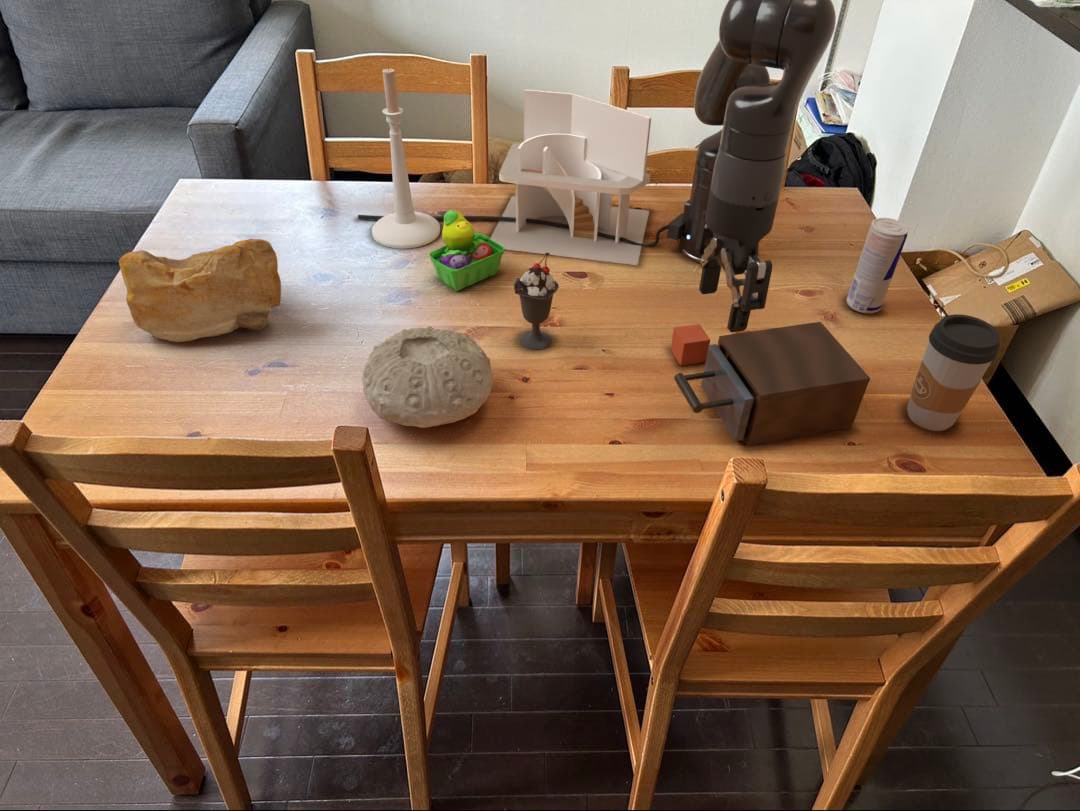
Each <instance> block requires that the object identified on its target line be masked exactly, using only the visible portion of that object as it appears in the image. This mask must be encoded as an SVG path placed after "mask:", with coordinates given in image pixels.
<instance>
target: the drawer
mask: <svg viewBox="0 0 1080 811" xmlns="http://www.w3.org/2000/svg"><path fill="white" fill-rule="evenodd" d="M673 379H674V381H675V383H676V386H678V388H679V390H680V392H681V393H682V395H683V397H684V398H685V400H686V402H687V404H688V405H689V407H690V408H691V410H692V412H693V413H694V414H700V413H702V411H703V410H706V409H713V408H714V410H715V411H716V413H717V414H718V416H719V418H720V420H721V421H722V422H723V424H724V426H725V427H726V429H727V430H728V432H729V434H730V435H731V437H732V438H733V440H734V441H735V442H738V441H743V439H744V435H745V431H746V427H747V429H748V430H749V427H750V423H751V419H752V415H753V411H754V408H755V404H756V400H757V397H758V396H757V395H756V394H755V392H754V391H753V389H752V388H751V386H750V385H749V383H748V382H747V381H746V379H745V378H744V376H743V375H742V373H741V372H740V371H739V369H738V368H737V366H736V365H735V363H734V362H733V360H732V359H731V358H730V356H729V355H728V353H727V352H726V355H725V356H724V354H723V353H722V352H721V350H720V349H719V347H718V343H717V344H709V347H708V352H707V357H706V362H704V368H703V371H702V372H697V373H691V374H684V373H682V372H678V373H676V374H675V375H674V377H673ZM695 380H701V384H700V387H701V388H702V390H703V392H704V393H705V395H706V396H707V397H706V398H708V400H709V401H708V402H707V401H706V402H701V400H700V399H699V398H698V395H697V394H696V392H695V391H694V389H693V388H692V386H691V384H690V383H689V381H695Z"/></svg>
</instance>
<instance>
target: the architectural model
mask: <svg viewBox="0 0 1080 811" xmlns="http://www.w3.org/2000/svg"><path fill="white" fill-rule="evenodd" d="M651 125H652V117H651V116H647V115H644V114H641V113H637V112H635V111H631V110H628V109H625V108H622V107H618V106H615V105H611V104H609V103H605V102H602V101H599V100H595V99H592V98H589V97H586V96H583V95H579V94H576V93H573V92H572V93H571V92H558V91H548V90H537V89H536V90H535V89H524V90H523V141H522V142H515V143H513V144H512V145H511V146H510V148H509V150H508V152H507V154H506V157H505V159H504V161H503V163H502V165H501V168H500V170H499V173H498V176H499V178H498V179H499V181H501V182H502V183H509V184H514V185H515V195H512V196H511V197H510V199H509V201H508V203H507V205H506V207H505V209H504V211H503V213H502V215H501V217H515V218H516V221H503V220H498V223H497V224H496V226H495V229H494V230H493V232H492V234H491V236H490V237H489V238H490V239H492V240H493V241H495V242H496V243H498V244H500V245H501V246H503V247H504V248H505V250H506V251H516V252H523V253H531V254H541V255H545V253H550V254H549V255H548V256H558V257H564V258H574V259H581V260H582V259H583V260H590V261H591V260H592V261H599V262H606V263H615V264H624V265H631V266H638V264H639V259H640V255H641V250H642V246H638V245H632V244H628V243H625V242H622V241H619V238H620V237H623V238H626V239H628V240H631V241H634V242H636V243H640V244H643V242H644V237H645V232H646V228H647V224H648V218H649V215H650V210H646V209H637V208H630V202H631V195H632V194H634V193H635V192H638V191H639V190H640V189H643V188H644V187H646V186H647V185H649V184H650V183H651V182H650V181H651V174H650V173H648V172H647V161H648V153H649V152H648V151H649V142H650V133H651ZM613 195H617V196H618V195H619V196H618V203H617V206H612V204H613V203H612V202H613ZM526 219H536V220H543V221H550V222H556V223H562V224H567V225H569V228H570V229H567V228H562V227H557V226H551V225H544V224H537V223H528V222H525V221H526ZM597 231H598V232H601V233H605V234H609V235H614V236H616V238H615V240H614V239H609V238H605V237H601V236H597Z"/></svg>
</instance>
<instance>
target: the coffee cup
mask: <svg viewBox="0 0 1080 811" xmlns="http://www.w3.org/2000/svg"><path fill="white" fill-rule="evenodd" d="M1000 339H1001V336H1000V332H998V330H997V329H996V328H995V327H994V326H993V324H990V323H989V322H987V321H985V320H983V319H981V318H979V317H975V316H972V315H968V314H967V315H966V314H949V315H946V316H944V317H942V318H940V320H939V322H937V323H936V324H934V326H933V327H932V330H931V331H930V333H929V334H928V343H927V346H926V347H925V348H926V349H925V352H924V354H923V358H922V360H921V362H920V365H919V368H918V370H917V374H916V377H915V380H914V383H913V386H912V388H911V389H912V390H911V393H910V397H909V400H908V402H907V405H906V412H907V415H908V418H909V420H911V422H913V423H914V424H915V425H916V426H918V427H920V428H921V429H924V430H926V431H927V430H928V431H933V432H942V431H945V430H948V429H949V428H951V427H952V426H954V424H955V423H956V421H957V420H958V418H959V416H960V415H961V413H962V412H963V410H964V409H965V408H966V407H967V405H968V403H969V401H970V399H971V398H972V397H973V395H974V392H975V391H976V390H977V388H978V386H979V385H980V383H981V381H982V379H983V377H984V375H985V374H986V372H987V371H988V368H989V367H990V365H991V363H992V362H993V361H994V360H995V359H997V357H998V352H999V350H1000V347H1001V344H1000Z"/></svg>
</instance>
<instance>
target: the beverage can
mask: <svg viewBox="0 0 1080 811" xmlns="http://www.w3.org/2000/svg"><path fill="white" fill-rule="evenodd" d="M909 232H910V229H909V226H908V225H907V224H906V223H904V222H902V221H901V220H898V219H895V218H890V217H877V218H875V219H873V220H872V221H871V224H870V226H869V229H868V232H867V235H866V238H865V242H864V244H863V248H862V250H861V254H860V257H859V260H858V263H857V266H856V269H855V273H854V276H853V279H852V281H851V285H850V288H849V291H848V294H847V297H846V304H847V305H848V307H849V308H851V309H852V310H854V311H856V312H858V313H861V314H862V313H863V314H874V313H877V312H879V311H881V309H882V307H883V305H884V301H885V298H886V295H887V293H888V290H889V288H890V284H891V281H892V280H893V277H894V273H895V271H896V268H897V266H898V262H899V260H900V258H901V254H902V251H903V249H904V246H905V244H906V241H907V238H908V233H909Z"/></svg>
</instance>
